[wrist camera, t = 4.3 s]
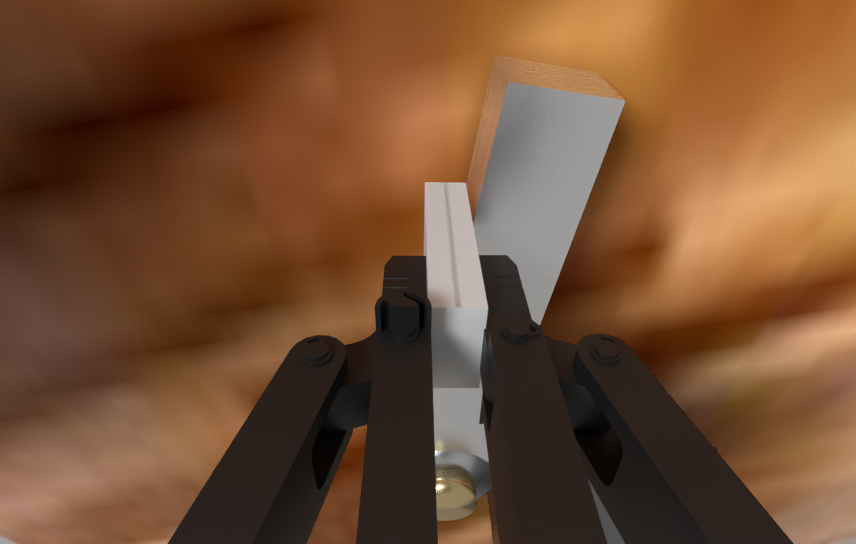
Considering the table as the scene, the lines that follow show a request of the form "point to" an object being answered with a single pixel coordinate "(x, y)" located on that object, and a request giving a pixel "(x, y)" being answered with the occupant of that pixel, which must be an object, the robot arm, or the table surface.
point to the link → (526, 206)
